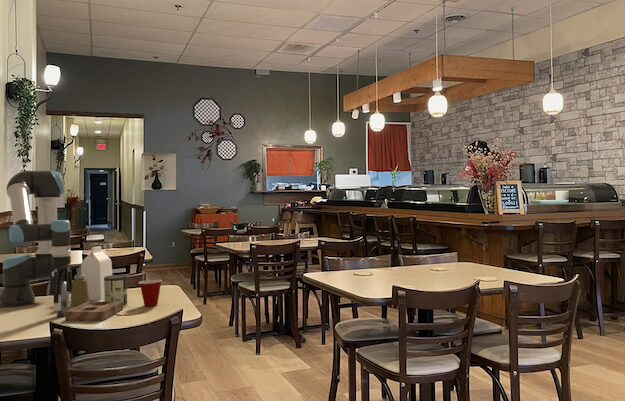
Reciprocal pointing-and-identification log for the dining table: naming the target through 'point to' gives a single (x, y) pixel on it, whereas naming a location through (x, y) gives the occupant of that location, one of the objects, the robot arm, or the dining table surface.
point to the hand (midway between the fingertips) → (61, 308)
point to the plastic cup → (150, 292)
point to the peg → (63, 299)
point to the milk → (96, 272)
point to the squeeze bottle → (79, 289)
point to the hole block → (94, 311)
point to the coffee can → (116, 288)
